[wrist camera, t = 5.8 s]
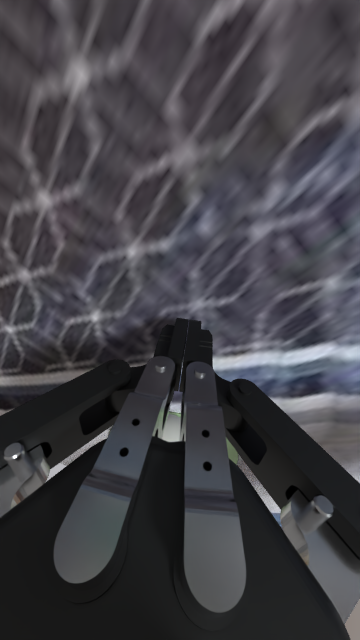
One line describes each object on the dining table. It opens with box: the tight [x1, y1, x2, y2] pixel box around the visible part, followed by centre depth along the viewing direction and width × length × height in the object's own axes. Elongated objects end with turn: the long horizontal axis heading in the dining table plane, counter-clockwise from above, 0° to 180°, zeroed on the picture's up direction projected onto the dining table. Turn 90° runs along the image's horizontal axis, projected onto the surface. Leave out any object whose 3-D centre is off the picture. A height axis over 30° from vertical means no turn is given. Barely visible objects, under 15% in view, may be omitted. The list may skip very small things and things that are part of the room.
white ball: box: [162, 414, 180, 442], centre depth 19 cm, size 6×6×6 cm
